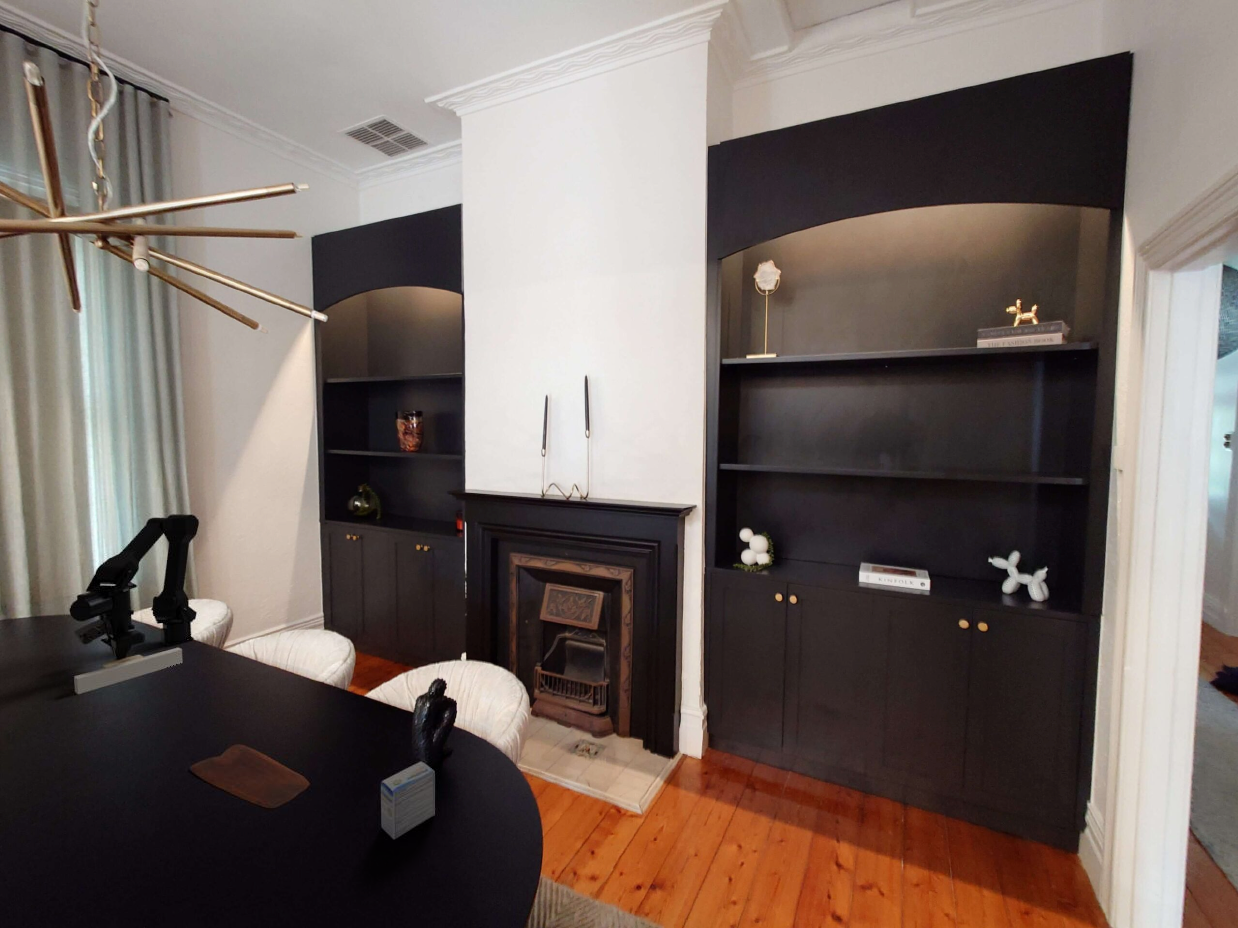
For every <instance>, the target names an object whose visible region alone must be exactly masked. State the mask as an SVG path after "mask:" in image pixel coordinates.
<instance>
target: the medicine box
mask: <svg viewBox="0 0 1238 928" xmlns="http://www.w3.org/2000/svg"><path fill="white" fill-rule="evenodd" d="M435 777H436V773H435V770H434V769H432V768H431V767H430V766H429V765H427V764H426V763H424V762H423V761H419V762H416V763H415V764H413V765H411V766H409V767H407V768H404V769H403V770H401V771H399V772H397V773H395V774H394V775H391V776H389V777H387V778H386V779H383V780H382V781H380V804H381V805H380V806H381V807H380V810H381V812H380V813H381V814H380V815H381V817H380V819H381V828H382V830H383V831H385V833H387V835H388V836H389V837H390V838H391V839H392V840H396V839H398V838H399V837H401V836H402V835H405V833H407V832H409V831H410V830H412V829H414V828H415V827H417V826H419V825H420V824H422V823H424V822H425V821H427V820H429V819H430V818H432V817H434V816H436V813H435V812H436V807H435V806H436V805H435V803H436V802H435V801H436V800H435V799H436V796H435V795H436V787H435V786H436V778H435Z"/></svg>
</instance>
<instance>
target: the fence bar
mask: <svg viewBox="0 0 1238 928" xmlns="http://www.w3.org/2000/svg"><path fill="white" fill-rule="evenodd" d="M180 663H181V664H183V649H182V648H180V647H176V648H172V649H171V648H170V649H168V650H165V651H161V652H157V653H153V654H150V655H145V656H143V657H142V658H139V659H135V660H132V661H128V662H124V663H121V664H117V665H114V666H110V667H106V668H103V669H102V668H99V669H95V670H92V671H88V672H86V673H81V674H78V675H74V676H73V680H74V692H75V693H76V694H77V695H81V694H84V693H88V692H90V691H91V692H92V691H94V690H98V689H100V688H104V687H107V686H111V685H114V684H117V683H118V684H119V683H120V682H124V681H127V680H131V679H134V678H137V677H141V676H144V675H147V674H151V673H154V672H157V671H160V670H164V669H168V668H170V666H171V667H174V666H177V665H176V664H178V665H181V664H180ZM173 665H174V666H173ZM167 667H168V668H167Z"/></svg>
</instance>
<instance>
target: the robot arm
mask: <svg viewBox="0 0 1238 928" xmlns="http://www.w3.org/2000/svg"><path fill="white" fill-rule="evenodd" d="M199 525H200V521H199V519H198V517H197V516H196V515H195V514H185V513H184V514H179V513H177V514H175V513H173V514H170V515H168V516H167V517H151V518H148V519H147V521H146V524H145V525H144V526H143V527H142V529H140V530H139V532H138V533H137V534H136V535H135V536H134V537H133V538H132V539H131V541H130V542H129V543H128V544H127V545H126V546H125V547H124V549H122V551H120V552H119V553H118V554H116V555H113V556H111V557H110V558H107V559H106V560H105V561H104V562H103V563H101V564H100V565H99V566H98V567H97V568H96V570H95V573H94V575H93V576H92V578H91V580H90V582H89V584H88V586H87V588H86V590H85V593H81V594H77V596H76V600H74V601H73V602H72V604H71V605H70V607H69V609H68V610H69V614H70V616H71V618H72V619H74V620H75V621H77V622H86V621H89V620H91V619H94V618H97V617H98V619H97V620H95V621H92V622H90V623H88V624H86V625H84V626H82V627H80V628H78V629H75V630H74V632H73V634H74V635H75V636H76V638H77V639H78V641H79V643H82V645H84V646H85V645H88V644H90V643H92V642H93V641H94V640H97V639H99V638H100V637H102V636H103V638H101V639H99V641H100V642H102V643H103V644H105V645H106V646H108V647H109V649H110V651H111V654H112V655H113V656H112V657H113V658H114V661H117V660H121V659H124V658H127V656H128V654H129V652H130V649H131V648H132V646H134V645H139V644H143V643H145V642H146V634H145V633H142V632H141V631H139V630H137V629H136V628H135V624H133V622H132V616H134V615H135V610H133V609H132V605H131V604H132V602H131V590H132V589H135V588H137V587H138V584H135V583H133V579H134V578H135V576H136V574H137V573H138V572H139V570H140V562H141V561H142V559H143V558H144V557H145V556H146V555H147V554H148V552H149V551H150V550H151V549H152V548H153V546H154V545H155V544H156V543H157V542H158V540H160V538H161V537H162V536H163V535H164V537H165V538H166V540H167V542H168V549H167V556H166V557H167V558H166V564H165V573H164V578H163V579H164V580H163V587H162V591H161V592H160V593H159V595H158V596H156V595H155V596H153V599H152V607H151V610H150V611H152V616H153V617H154V619H155V621H156V623H157V624H158V625H159V624H162V628H161V629H160V643H162V644H163V645H167V646H168V647H170V646H174V645H178V644H182V643H186V642H189V640H190V641H193V640H194V638H195V637H193V636H192V624H191V623H193V621H195V620H196V618H197V615H198V614H197V611H196V610H194V609H193V608H192V607H191V606H189V605H190V603H189V597H188V595H187V593H186V591H185V590H184V589H185V580H186V572H187V563H188V555H189V548H190V543H191V541H192V540H193V539H194V538H195V537H196V535H197V533H198V530H199ZM187 639H189V640H187ZM185 641H186V642H185Z"/></svg>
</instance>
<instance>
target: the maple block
mask: <svg viewBox="0 0 1238 928" xmlns="http://www.w3.org/2000/svg"><path fill="white" fill-rule="evenodd" d="M142 657H144V656H142V655H141V654H136V655H132V656H128V657H126V658H124V659H121V660H117V661H115V660H114V661H110V662H107V663H103V664H101V669H103V668H106V667H110V666H114V665H117V664H121V663H124V662H128V661H132V660H135V659H139V658H142Z"/></svg>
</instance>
